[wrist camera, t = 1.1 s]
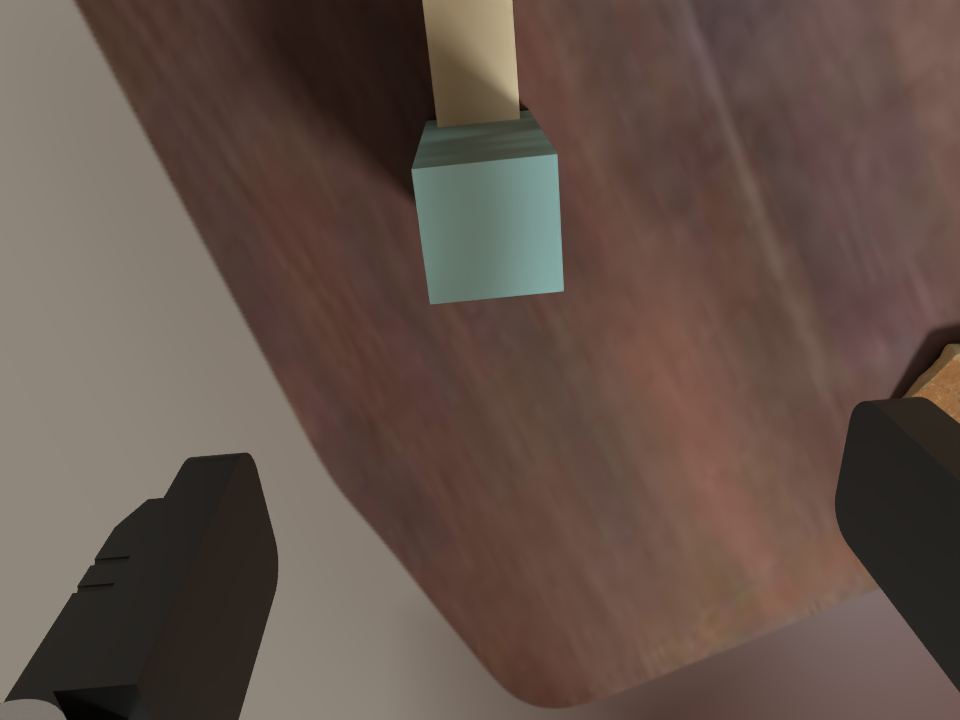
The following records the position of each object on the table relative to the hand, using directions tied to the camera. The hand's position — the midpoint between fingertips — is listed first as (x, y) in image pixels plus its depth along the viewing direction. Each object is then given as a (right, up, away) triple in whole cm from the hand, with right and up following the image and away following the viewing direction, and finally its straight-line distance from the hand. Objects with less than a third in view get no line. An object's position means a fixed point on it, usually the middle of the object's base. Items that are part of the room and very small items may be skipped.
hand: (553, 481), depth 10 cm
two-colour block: (-1, +14, +16) cm, 22 cm away
